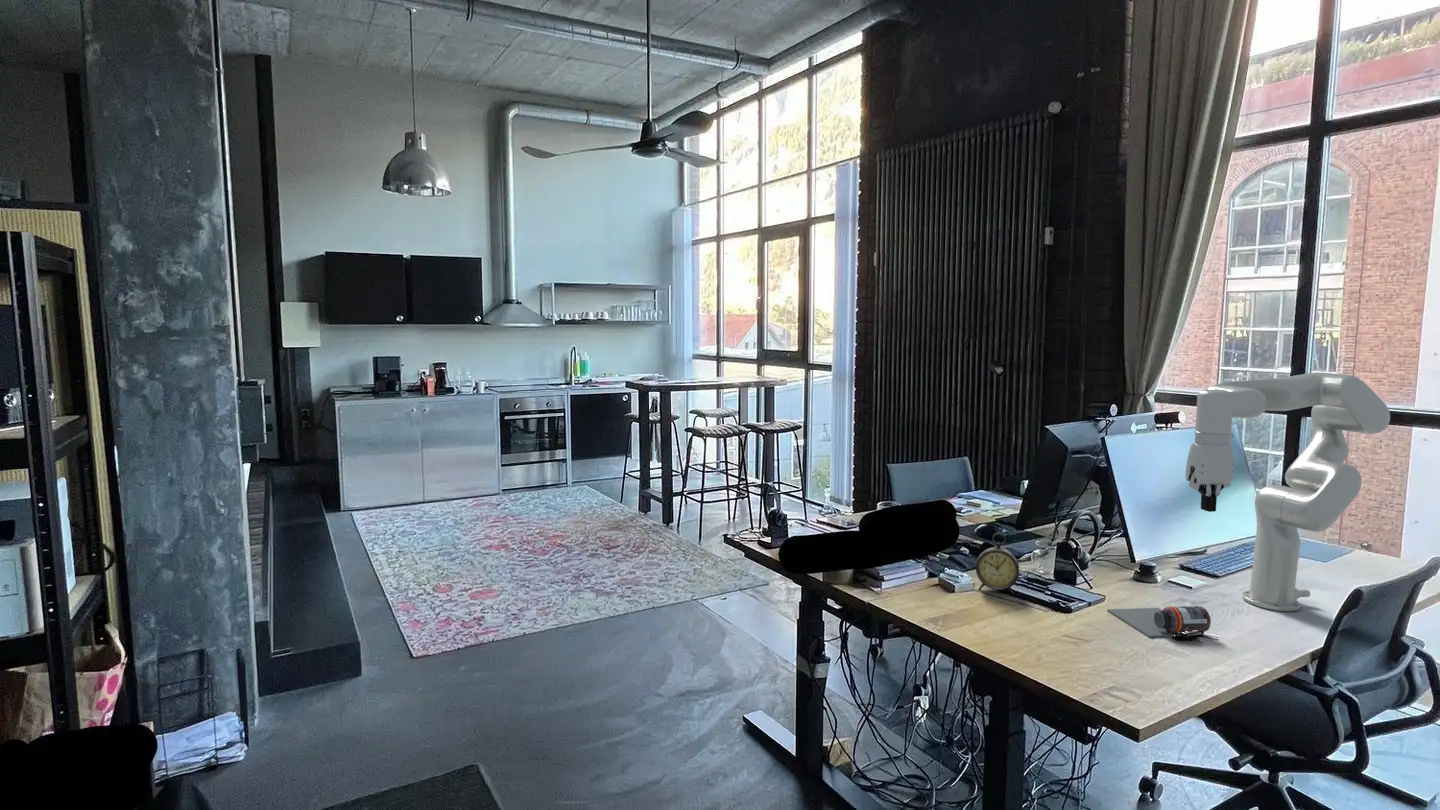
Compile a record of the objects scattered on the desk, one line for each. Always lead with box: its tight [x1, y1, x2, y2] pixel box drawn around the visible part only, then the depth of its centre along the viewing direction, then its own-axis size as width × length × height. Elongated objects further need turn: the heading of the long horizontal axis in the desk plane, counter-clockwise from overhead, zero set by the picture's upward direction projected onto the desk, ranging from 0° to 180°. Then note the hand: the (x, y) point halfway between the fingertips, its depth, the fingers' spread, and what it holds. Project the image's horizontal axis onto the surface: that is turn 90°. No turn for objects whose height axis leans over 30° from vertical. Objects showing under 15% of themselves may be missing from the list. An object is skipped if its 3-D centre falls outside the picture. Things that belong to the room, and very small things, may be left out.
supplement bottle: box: [1154, 605, 1212, 633], centre depth 184 cm, size 6×6×11 cm
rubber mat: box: [1106, 607, 1175, 639], centre depth 190 cm, size 14×16×1 cm
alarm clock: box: [975, 532, 1020, 595], centre depth 209 cm, size 11×5×16 cm, turn 68°
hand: (1208, 510), depth 195 cm, fingers closed
